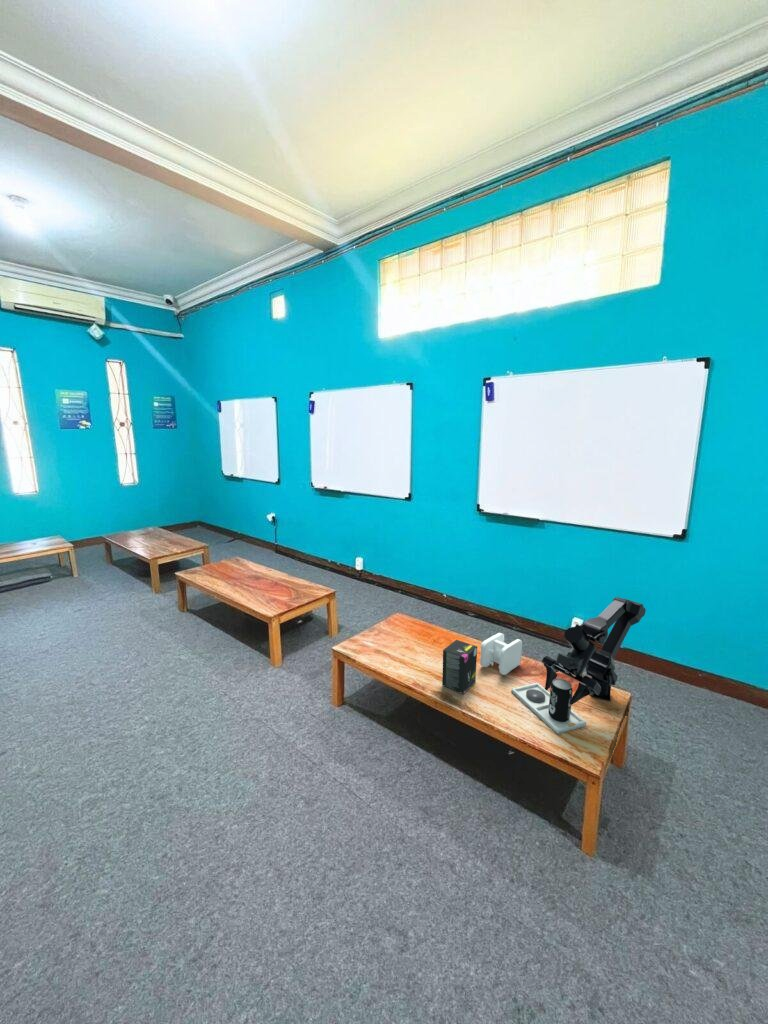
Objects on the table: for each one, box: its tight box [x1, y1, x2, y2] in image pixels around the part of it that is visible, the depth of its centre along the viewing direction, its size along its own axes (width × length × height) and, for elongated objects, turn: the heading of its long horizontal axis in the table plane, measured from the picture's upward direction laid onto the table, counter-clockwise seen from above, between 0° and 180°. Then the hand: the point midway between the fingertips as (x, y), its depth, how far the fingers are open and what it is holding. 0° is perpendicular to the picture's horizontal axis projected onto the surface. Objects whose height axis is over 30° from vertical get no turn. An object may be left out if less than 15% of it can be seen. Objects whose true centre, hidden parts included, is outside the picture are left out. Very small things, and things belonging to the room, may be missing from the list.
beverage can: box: [549, 678, 574, 722], centre depth 132 cm, size 7×7×12 cm
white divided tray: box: [511, 682, 587, 735], centre depth 138 cm, size 12×23×2 cm, turn 19°
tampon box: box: [441, 639, 478, 695], centre depth 151 cm, size 11×9×15 cm
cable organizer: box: [479, 632, 523, 676], centre depth 163 cm, size 15×11×12 cm
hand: (557, 696), depth 130 cm, fingers open, 9 cm apart
